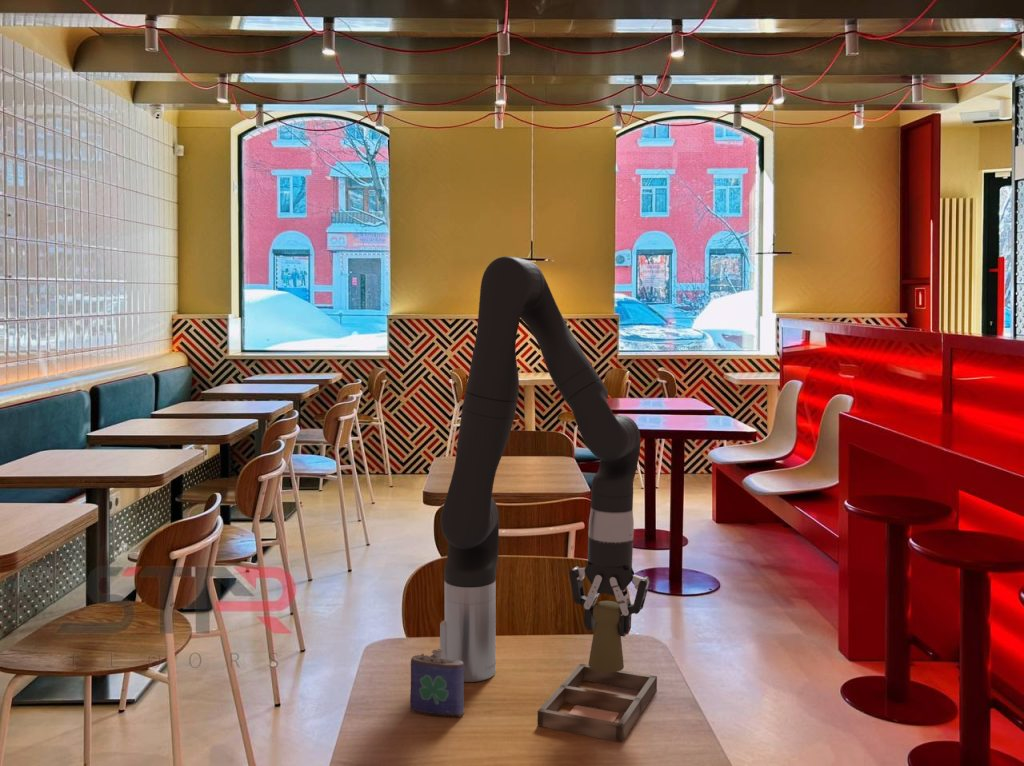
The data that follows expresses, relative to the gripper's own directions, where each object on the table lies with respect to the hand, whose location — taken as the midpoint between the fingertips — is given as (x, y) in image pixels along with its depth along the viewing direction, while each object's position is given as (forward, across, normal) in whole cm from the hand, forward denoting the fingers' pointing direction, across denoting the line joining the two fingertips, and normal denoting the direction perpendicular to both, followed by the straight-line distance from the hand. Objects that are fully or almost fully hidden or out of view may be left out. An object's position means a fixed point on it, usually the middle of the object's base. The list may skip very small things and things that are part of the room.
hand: (607, 631), depth 163 cm
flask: (+12, -23, -17) cm, 32 cm away
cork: (+6, 0, 0) cm, 6 cm away
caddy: (+11, +1, -5) cm, 12 cm away
